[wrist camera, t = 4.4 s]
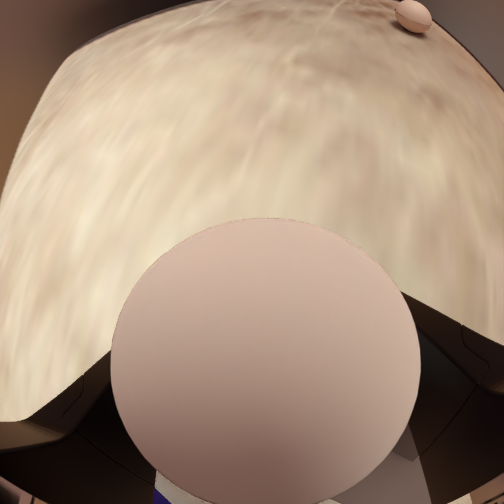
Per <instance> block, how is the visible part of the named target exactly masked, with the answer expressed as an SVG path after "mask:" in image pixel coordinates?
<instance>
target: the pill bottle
mask: <svg viewBox="0 0 504 504" xmlns="http://www.w3.org/2000/svg"><path fill="white" fill-rule="evenodd" d="M420 372H421V361H420V346H419V341H418V336H417V331H416V327H415V323H414V321H413V318H412V315H411V312H410V310H409V308H408V305H407V303H406V301H405V299H404V298H403V296H402V294H401V292H400V291H399V289H398V287H397V286H396V284H395V283H394V281H393V280H392V279H391V277H390V276H389V275H388V274H387V273H386V272H385V270H384V269H383V268H382V267H381V266H380V265H379V264H378V263H377V262H376V261H375V260H374V259H372V258H371V257H370V256H369V255H368V254H367V253H365V252H364V251H363V250H362V249H361V248H360V247H358V246H356V245H355V244H353V243H351V242H350V241H348V240H346V239H345V238H343V237H341V236H339V235H337V234H335V233H334V232H332V231H330V230H327V229H323V228H320V227H317V226H314V225H312V224H309V223H305V222H300V221H296V220H291V219H280V218H252V219H242V220H237V221H231V222H227V223H224V224H221V225H217V226H214V227H211V228H208V229H206V230H204V231H201V232H199V233H197V234H195V235H193V236H191V237H189V238H187V239H186V240H184V241H182V242H181V243H179V244H177V245H176V246H175V247H173V248H172V249H171V250H169V251H168V252H166V253H165V254H163V255H162V256H161V257H160V258H159V259H158V260H157V261H156V262H154V263H153V264H152V265H151V266H150V267H149V268H148V269H147V270H146V272H145V273H144V274H143V275H142V277H141V278H140V280H139V281H138V282H137V284H136V285H135V287H134V288H133V289H132V291H131V293H130V295H129V296H128V298H127V300H126V302H125V304H124V306H123V308H122V310H121V313H120V315H119V318H118V321H117V325H116V328H115V331H114V335H113V339H112V347H111V384H112V389H113V394H114V399H115V403H116V407H117V410H118V412H119V415H120V417H121V419H122V422H123V424H124V426H125V428H126V430H127V432H128V434H129V436H130V437H131V439H132V441H133V442H134V444H135V445H136V446H137V448H138V449H139V451H140V452H141V453H142V455H143V456H144V458H145V459H146V460H147V461H148V462H149V463H150V464H151V465H152V466H153V467H154V468H155V469H156V470H157V471H158V472H159V473H161V474H162V475H163V476H164V477H166V478H167V479H168V480H169V481H171V482H172V483H173V484H175V485H176V486H178V487H179V488H181V489H183V490H185V491H186V492H188V493H190V494H191V495H193V496H196V497H198V498H200V499H202V500H204V501H207V502H210V503H213V504H317V503H320V502H322V501H325V500H327V499H330V498H332V497H334V496H336V495H338V494H340V493H342V492H344V491H346V490H347V489H349V488H351V487H352V486H354V485H355V484H357V483H358V482H360V481H361V480H362V479H364V478H365V477H366V476H367V475H369V474H370V473H371V472H372V471H373V470H374V469H375V468H376V467H377V466H378V465H379V464H380V463H381V462H382V461H383V460H384V459H385V458H386V457H387V455H388V454H389V453H390V451H391V450H392V449H393V447H394V446H395V445H396V443H397V442H398V440H399V438H400V436H401V435H402V433H403V431H404V430H405V428H406V426H407V423H408V421H409V419H410V416H411V413H412V411H413V408H414V404H415V401H416V398H417V394H418V387H419V380H420Z"/></svg>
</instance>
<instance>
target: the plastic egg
mask: <svg viewBox="0 0 504 504" xmlns="http://www.w3.org/2000/svg"><path fill="white" fill-rule="evenodd" d="M395 15H396V17H397V20H398V22H399V23H400V24H401V25H402V26H403V27H404V28H406V29H407V30H409V31H411V32H416V33H421V32H425V31H427V30H428V29H429V28H430V26H431V25H432V24H431V22H432V19H431V15H430V13H429V12H428V10H427V9H426V8H425V7H424V6H423V5H422V4H420V3H418V2H416V1H413V0H405V1H402V2H400V3H399V4H398V5H397V7H396V9H395Z"/></svg>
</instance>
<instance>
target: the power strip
mask: <svg viewBox="0 0 504 504" xmlns="http://www.w3.org/2000/svg"><path fill="white" fill-rule="evenodd" d="M419 457H420V456H418V453H417V449H416V446H415V443H414V440H413V437H412V434H411V431H410V428H409V425H408V423H407V426H406V428H405V430H404V431H403V433H402V435H401V436H400V438H399V440H398V442H397V443H396V445H395V446H394V447H393V449H392V450H391V451H390V453H389V454H388V455H387V457H386V458H385V459H384V460H383V461H382V462H381V463H380V464H379V465H378V466H377V467H376V468H375V469H374V470H373V471H372V472H371V473H370V474H369V475H367V476H366V477H365V478H364V479H362V480H361V481H360V482H358V483H357V484H355V485H354V486H352V487H351V488H349V489H347V490H346V491H344V492H342V493H340V494H338V495H336V496H334V497H332V498H330V499H332V500H334V501H337V502H339V503H341V504H431V500H430V496H429V492H428V488H427V484H426V480H425V477H424V473H423V470H422V466H421V463H420V460H419Z"/></svg>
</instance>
